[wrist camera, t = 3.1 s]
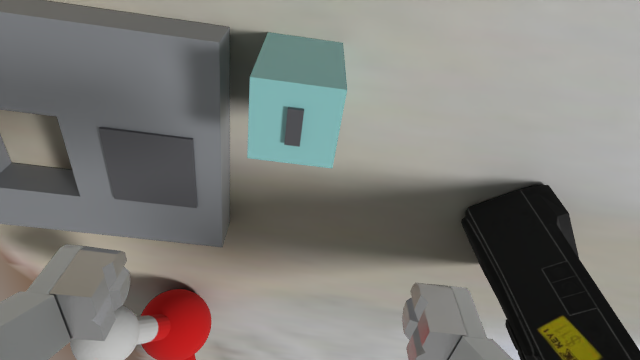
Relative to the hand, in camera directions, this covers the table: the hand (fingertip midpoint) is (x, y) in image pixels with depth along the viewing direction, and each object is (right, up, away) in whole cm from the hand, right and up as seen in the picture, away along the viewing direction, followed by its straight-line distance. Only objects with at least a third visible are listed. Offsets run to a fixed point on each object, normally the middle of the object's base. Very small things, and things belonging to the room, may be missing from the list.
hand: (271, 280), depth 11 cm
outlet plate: (-12, +6, +13) cm, 19 cm away
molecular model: (-10, -7, +23) cm, 26 cm away
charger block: (0, +9, +11) cm, 14 cm away
